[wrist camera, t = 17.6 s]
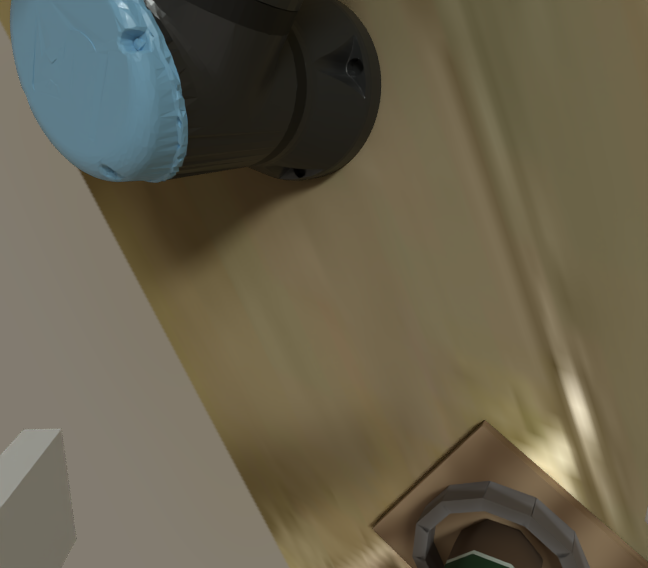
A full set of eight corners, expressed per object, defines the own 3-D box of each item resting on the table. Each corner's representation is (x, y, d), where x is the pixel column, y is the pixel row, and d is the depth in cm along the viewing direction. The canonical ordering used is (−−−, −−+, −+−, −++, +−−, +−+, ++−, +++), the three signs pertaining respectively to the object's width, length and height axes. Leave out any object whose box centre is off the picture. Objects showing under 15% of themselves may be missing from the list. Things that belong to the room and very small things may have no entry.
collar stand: (376, 522, 55) (361, 544, 52) (485, 420, 46) (474, 440, 43) (517, 661, 51) (510, 694, 48) (668, 579, 42) (670, 614, 39)
